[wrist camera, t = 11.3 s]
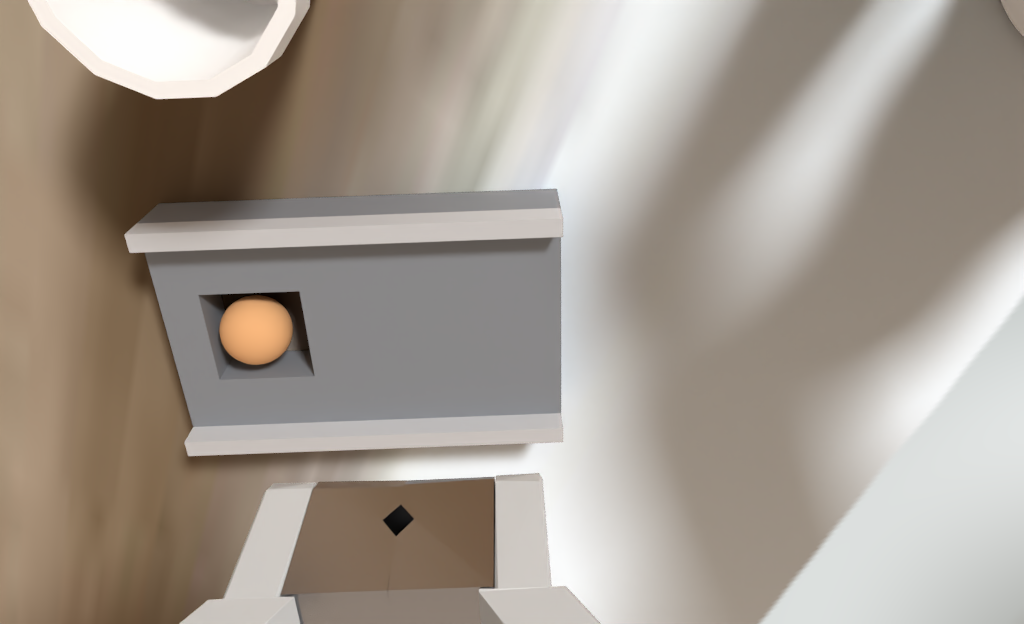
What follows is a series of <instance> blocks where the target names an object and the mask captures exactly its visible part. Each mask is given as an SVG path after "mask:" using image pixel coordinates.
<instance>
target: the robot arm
mask: <svg viewBox="0 0 1024 624" xmlns="http://www.w3.org/2000/svg"><path fill="white" fill-rule="evenodd" d="M1001 3H1002V5H1003V7H1004V10H1005V12H1006V13H1007V15H1008V17H1009V19H1010V20H1011V22H1012V23H1013V25H1014V26H1015V28H1016V29H1017V30H1018V31H1019V32H1020V34H1021V35H1022V36H1023V37H1024V0H1001ZM179 624H601V623H600V622H599V621H598V620H597V619H596V618H595V617H594V616H593V615H592V614H591V613H590V611H589V610H588V609H587V608H586V607H585V606H584V605H583V604H582V603H581V602H580V601H579V600H578V599H577V598H576V597H575V595H574V594H573V593H572V592H571V591H570V590H569V589H568V588H567V587H566V586H557V587H552V584H551V573H550V561H549V549H548V538H547V526H546V514H545V503H544V491H543V479H542V477H541V476H540V474H539V473H535V474H518V475H501V476H496V480H495V477H481V478H458V479H435V480H412V481H342V482H318V483H273V484H272V485H271V486H270V487H269V488H268V489H267V490H266V491H265V493H264V495H263V497H262V500H261V502H260V505H259V507H258V510H257V513H256V515H255V518H254V520H253V523H252V525H251V528H250V530H249V533H248V535H247V538H246V540H245V543H244V546H243V548H242V551H241V553H240V556H239V558H238V561H237V563H236V566H235V568H234V571H233V574H232V576H231V579H230V581H229V584H228V586H227V589H226V591H225V594H224V596H223V599H215V600H207V601H206V602H205V603H204V604H202V605H201V606H200V607H199V608H197V609H196V610H195V611H194V612H193V613H191V614H190V615H189V616H188V617H186V618H185V619H184V620H183V621H182V622H180V623H179Z"/></svg>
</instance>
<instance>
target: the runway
mask: <svg viewBox="0 0 1024 624" xmlns="http://www.w3.org/2000/svg"><path fill="white" fill-rule="evenodd" d="M124 235H125V239H126V242H127V246H128V249H129V253H141V252H145V256H146V259H147V263H148V266H149V270H150V274H151V277H152V281H153V284H154V288H155V291H156V295H157V299H158V302H159V306H160V309H161V313H162V317H163V320H164V324H165V327H166V331H167V334H168V338H169V342H170V345H171V349H172V352H173V356H174V359H175V363H176V367H177V370H178V374H179V377H180V381H181V385H182V388H183V392H184V395H185V399H186V402H187V406H188V410H189V413H190V417H191V420H192V424H193V428H192V430H191V432H190V434H189V435H188V437H187V439H186V441H185V442H184V443H185V446H186V450H187V453H188V456H206V455H233V454H259V453H286V452H313V451H339V450H366V449H392V448H419V447H445V446H472V445H498V444H525V443H551V442H563V425H562V417H561V237H563V216H562V212H561V207H560V202H559V198H558V193H557V189H540V190H513V191H485V192H458V193H431V194H403V195H376V196H349V197H322V198H294V199H267V200H240V201H212V202H185V203H159V204H158V205H157V206H155V207H154V208H153V209H152V210H151V211H150V212H149V213H148V214H147V215H145V216H144V217H143V218H142V219H141V220H140V221H139V222H138V223H137V224H135V225H134V226H133V227H132V228H131V229H130V230H129V231H128V232H127V233H125V234H124ZM294 291H299V292H300V298H301V303H302V309H303V314H304V320H305V325H306V331H307V336H308V342H309V347H310V350H302V351H285V352H284V353H283V354H282V355H281V356H280V357H278V358H277V359H275V360H274V361H271V362H269V363H266V364H260V365H251V364H246V363H243V362H241V361H238V360H236V359H235V358H234V357H232V356H231V355H230V354H229V353H228V352H227V351H226V349H225V348H224V346H223V344H222V342H221V338H220V333H219V328H220V322H221V318H222V316H223V314H224V312H225V308H224V304H223V300H222V296H221V294H240V293H267V292H294Z"/></svg>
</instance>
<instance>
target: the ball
mask: <svg viewBox="0 0 1024 624" xmlns="http://www.w3.org/2000/svg"><path fill="white" fill-rule="evenodd" d="M219 333H220V338H221V342H222V344H223V346H224V348H225V349H226V351H227V352H228V353H229V354H230V355H231V356H232V357H234V358H235V359H236V360H238V361H241V362H243V363H246V364H251V365H260V364H266V363H269V362H271V361H274V360H275V359H277V358H278V357H280V356H281V355H282V354H283V353H284V352H285V351H286V349H287V348H288V346H289V344H290V342H291V339H292V334H293V325H292V320H291V318H290V315H289V313H288V312H287V310H286V309H285V308H284V307H283V305H281V304H280V303H279V302H278V301H276V300H274V299H272V298H270V297H267V296H262V295H251V296H246V297H243V298H240V299H238V300H237V301H235V302H234V303H232V304H231V305H230V306H229V307H228V308H227V309H226V311H225V312H224V314H223V316H222V318H221V322H220V328H219Z"/></svg>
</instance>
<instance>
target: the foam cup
mask: <svg viewBox="0 0 1024 624" xmlns="http://www.w3.org/2000/svg"><path fill="white" fill-rule="evenodd" d="M28 2H29V4H30V5H31V7H32V9H33V11H34V13H35V15H36V17H37V19H38V21H39V22H40V24H41V26H42V27H43V28H44V29H45V30H46V31H47V32H48V33H50V34H51V35H52V36H53V37H54V38H55V39H56V40H57V41H58V42H59V43H60V44H62V45H63V46H64V47H65V48H66V49H67V50H68V51H69V52H70V53H71V54H73V55H74V56H75V57H76V58H77V59H78V60H79V61H80V62H81V63H82V64H84V65H85V66H86V67H87V68H88V69H89V70H90V71H91V72H92V73H93V74H94V75H97V76H99V77H102V78H104V79H107V80H109V81H112V82H114V83H117V84H119V85H122V86H124V87H127V88H129V89H132V90H134V91H137V92H139V93H142V94H144V95H147V96H149V97H152V98H155V99H174V98H198V97H217V96H218V95H220V94H222V93H223V92H225V91H227V90H228V89H230V88H232V87H233V86H235V85H237V84H239V83H240V82H242V81H244V80H245V79H247V78H249V77H250V76H252V75H254V74H255V73H257V72H259V71H261V70H262V69H264V68H266V67H267V66H268V65H270V64H271V63H272V62H274V61H275V60H276V59H278V58H279V57H281V56H282V54H283V52H284V51H285V49H286V47H287V46H288V44H289V42H290V40H291V39H292V37H293V35H294V33H295V32H296V30H297V28H298V27H299V25H300V23H301V21H302V20H303V18H304V16H305V14H306V13H307V11H308V9H309V7H310V0H28Z"/></svg>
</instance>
